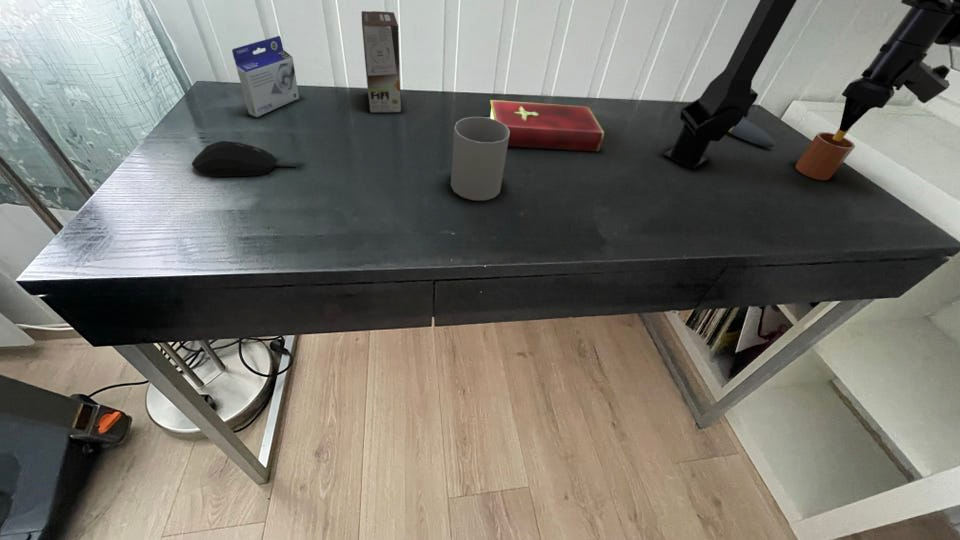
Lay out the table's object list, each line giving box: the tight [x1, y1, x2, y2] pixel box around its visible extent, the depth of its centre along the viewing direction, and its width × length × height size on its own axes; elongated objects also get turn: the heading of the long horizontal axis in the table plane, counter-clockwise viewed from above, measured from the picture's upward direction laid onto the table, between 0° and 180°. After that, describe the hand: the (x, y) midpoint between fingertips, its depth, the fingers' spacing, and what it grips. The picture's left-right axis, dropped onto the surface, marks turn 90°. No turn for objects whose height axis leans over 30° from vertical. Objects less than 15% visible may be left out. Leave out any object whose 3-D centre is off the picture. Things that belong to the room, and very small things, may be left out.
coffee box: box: [361, 10, 402, 113], centre depth 83 cm, size 9×6×16 cm
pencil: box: [832, 125, 853, 141], centre depth 79 cm, size 2×2×7 cm
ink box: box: [231, 35, 300, 118], centre depth 78 cm, size 12×2×12 cm, turn 155°
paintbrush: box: [705, 118, 776, 148], centre depth 95 cm, size 20×5×5 cm, turn 48°
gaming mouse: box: [191, 140, 297, 177], centre depth 66 cm, size 6×15×4 cm, turn 99°
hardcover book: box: [487, 99, 605, 152], centre depth 84 cm, size 12×21×4 cm, turn 95°
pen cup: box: [794, 131, 856, 181], centre depth 84 cm, size 7×7×7 cm
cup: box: [450, 116, 510, 201], centre depth 66 cm, size 8×8×10 cm
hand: (843, 129), depth 80 cm, fingers closed on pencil, 1 cm apart
